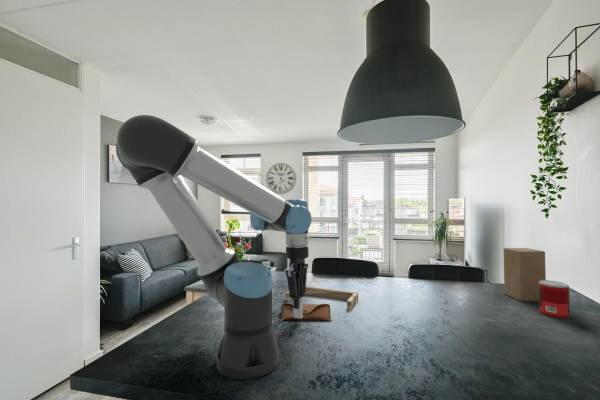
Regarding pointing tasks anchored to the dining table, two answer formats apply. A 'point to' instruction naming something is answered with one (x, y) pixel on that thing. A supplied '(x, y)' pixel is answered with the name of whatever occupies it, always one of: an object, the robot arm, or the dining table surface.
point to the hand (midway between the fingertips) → (298, 317)
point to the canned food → (554, 299)
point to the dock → (331, 295)
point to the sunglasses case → (307, 312)
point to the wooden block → (523, 273)
